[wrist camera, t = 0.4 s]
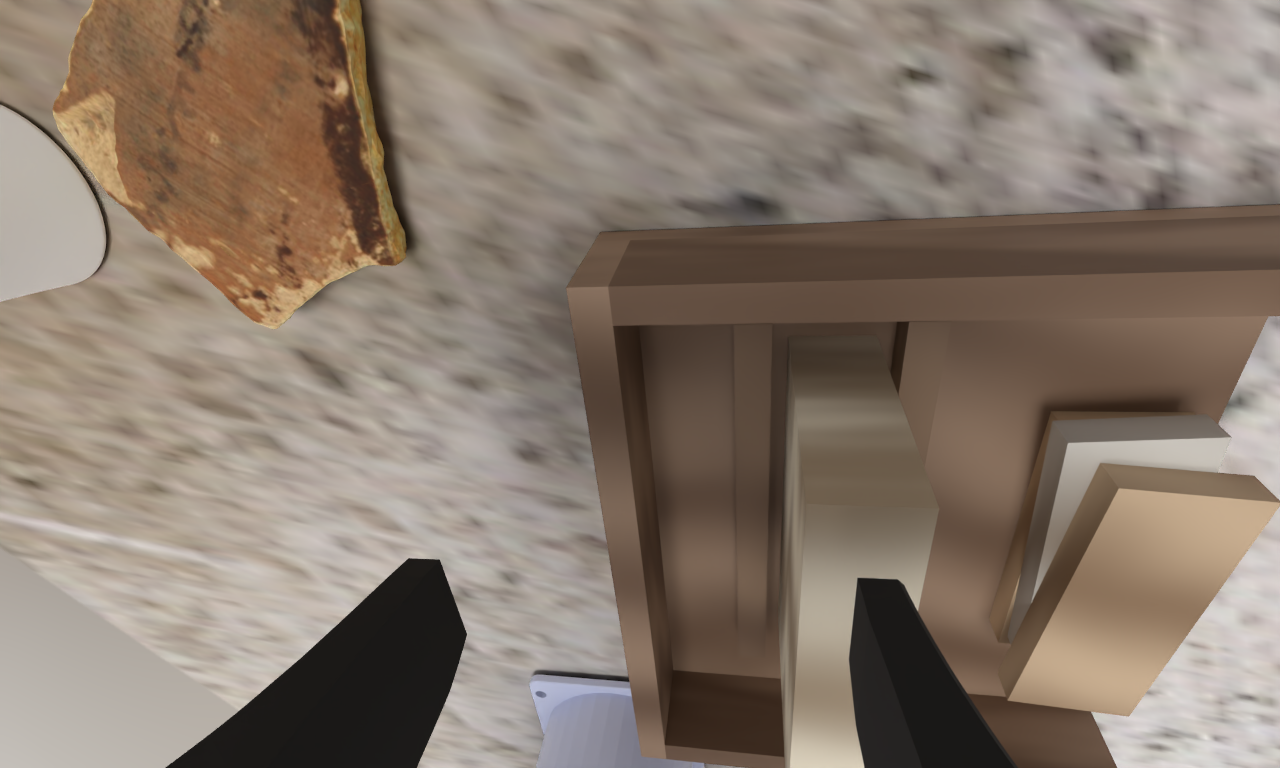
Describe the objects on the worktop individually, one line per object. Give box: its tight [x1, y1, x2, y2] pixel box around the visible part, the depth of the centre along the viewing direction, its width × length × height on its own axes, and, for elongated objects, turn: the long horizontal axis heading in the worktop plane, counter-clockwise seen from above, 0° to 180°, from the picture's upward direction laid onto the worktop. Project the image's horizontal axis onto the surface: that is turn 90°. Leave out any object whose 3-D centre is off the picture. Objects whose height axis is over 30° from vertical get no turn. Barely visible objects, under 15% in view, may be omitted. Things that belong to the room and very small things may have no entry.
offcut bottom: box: [989, 411, 1196, 644], centre depth 20 cm, size 9×4×1 cm, turn 5°
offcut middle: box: [1008, 414, 1232, 644], centre depth 19 cm, size 9×4×1 cm, turn 9°
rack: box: [566, 205, 1280, 768], centre depth 20 cm, size 20×17×4 cm
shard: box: [53, 0, 407, 329], centre depth 17 cm, size 13×9×2 cm
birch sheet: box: [778, 335, 939, 768], centre depth 18 cm, size 12×2×7 cm, turn 5°
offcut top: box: [997, 463, 1280, 716], centre depth 18 cm, size 9×4×1 cm, turn 0°
